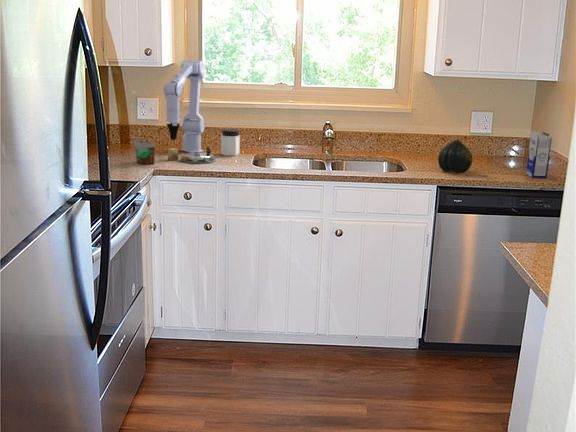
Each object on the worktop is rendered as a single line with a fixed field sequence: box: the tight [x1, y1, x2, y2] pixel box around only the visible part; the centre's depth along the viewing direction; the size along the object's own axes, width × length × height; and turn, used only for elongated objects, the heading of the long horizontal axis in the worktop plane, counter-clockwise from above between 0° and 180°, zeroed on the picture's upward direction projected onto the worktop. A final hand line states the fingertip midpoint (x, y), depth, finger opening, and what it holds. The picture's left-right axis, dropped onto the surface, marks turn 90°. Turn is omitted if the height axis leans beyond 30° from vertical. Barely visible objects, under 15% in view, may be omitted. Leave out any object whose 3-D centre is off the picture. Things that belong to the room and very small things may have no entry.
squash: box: [437, 139, 473, 175], centre depth 297 cm, size 14×15×15 cm
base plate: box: [180, 158, 216, 165], centre depth 304 cm, size 16×16×1 cm
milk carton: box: [525, 130, 553, 179], centre depth 291 cm, size 7×7×20 cm
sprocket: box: [180, 146, 216, 162], centre depth 304 cm, size 15×15×6 cm
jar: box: [220, 128, 241, 157], centre depth 321 cm, size 9×8×12 cm
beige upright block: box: [167, 147, 179, 162], centre depth 304 cm, size 3×3×5 cm
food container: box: [133, 138, 157, 166], centre depth 292 cm, size 12×6×10 cm, turn 47°
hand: (173, 139), depth 302 cm, fingers closed
